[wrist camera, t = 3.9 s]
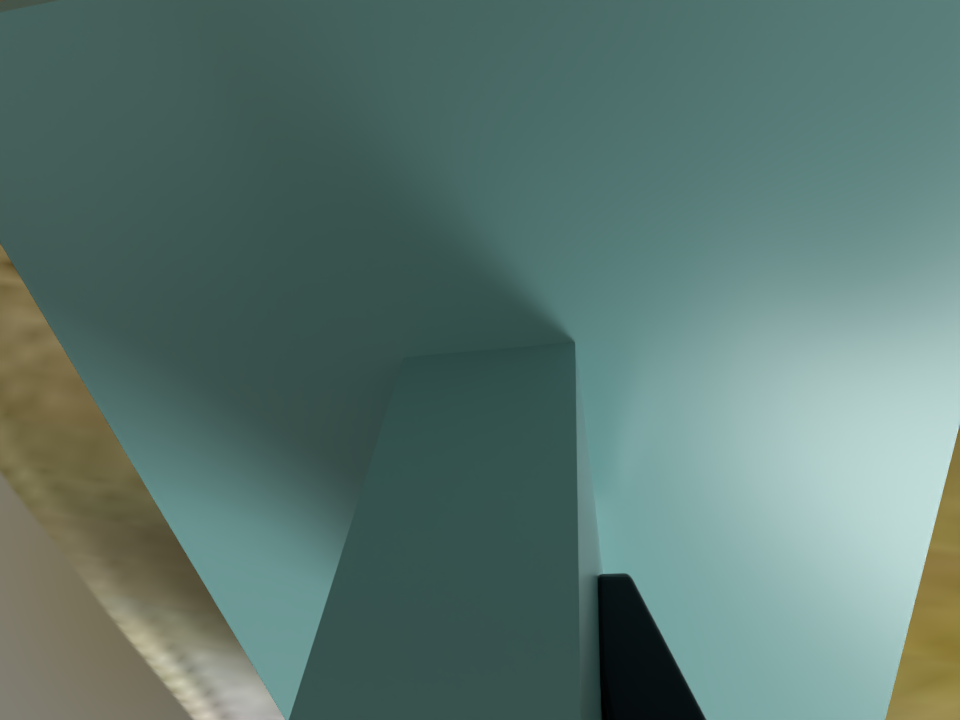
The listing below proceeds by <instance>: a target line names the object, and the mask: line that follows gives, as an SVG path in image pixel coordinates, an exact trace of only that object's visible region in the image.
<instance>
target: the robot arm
mask: <svg viewBox="0 0 960 720" xmlns="http://www.w3.org/2000/svg"><path fill="white" fill-rule="evenodd" d="M598 617H599V657H600V685H601V693H602V700H603V707H604V714H605V720H707V719H706V718H705V716H704V714H703V712H702V710H701V708H700V706H699V704H698V702H697V700H696V699H695V697H694V695H693V693H692V691H691V689H690V687H689V685H688V683H687V681H686V679H685V678H684V676H683V674H682V672H681V670H680V668H679V666H678V664H677V662H676V660H675V659H674V657H673V655H672V653H671V651H670V649H669V647H668V645H667V643H666V641H665V639H664V638H663V636H662V634H661V632H660V630H659V628H658V626H657V624H656V622H655V620H654V618H653V617H652V615H651V613H650V611H649V609H648V607H647V605H646V603H645V601H644V599H643V598H642V596H641V594H640V592H639V590H638V588H637V586H636V584H635V582H634V580H633V579H632V577H631V576H630V575H628V574H626V573H614V574H600V575H599V576H598Z"/></svg>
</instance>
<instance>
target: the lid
mask: <svg viewBox="0 0 960 720" xmlns="http://www.w3.org/2000/svg"><path fill="white" fill-rule="evenodd" d="M0 243H1V245H2V247H3V248H4V250H5V252H6V253H7V255H8V257H9V258H10V260H11V262H12V263H13V265H14V267H15V268H16V270H17V272H18V273H19V275H20V277H21V278H22V280H23V282H24V283H25V285H26V287H27V288H28V290H29V292H30V294H31V295H32V297H33V299H34V300H35V302H36V304H37V305H38V307H39V309H40V310H41V312H42V314H43V315H44V317H45V319H46V320H47V322H48V324H49V325H50V327H51V329H52V330H53V332H54V334H55V335H56V337H57V339H58V340H59V342H60V344H61V345H62V347H63V349H64V350H65V352H66V354H67V355H68V357H69V359H70V360H71V362H72V364H73V365H74V367H75V369H76V370H77V372H78V374H79V375H80V377H81V379H82V380H83V382H84V384H85V385H86V387H87V389H88V390H89V392H90V394H91V396H92V397H93V399H94V401H95V402H96V404H97V406H98V407H99V409H100V411H101V412H102V414H103V416H104V417H105V419H106V421H107V422H108V424H109V426H110V427H111V429H112V431H113V432H114V434H115V436H116V437H117V439H118V441H119V442H120V444H121V446H122V447H123V449H124V451H125V452H126V454H127V456H128V457H129V459H130V461H131V462H132V464H133V466H134V467H135V469H136V471H137V472H138V474H139V476H140V477H141V479H142V481H143V482H144V484H145V486H146V487H147V489H148V491H149V492H150V494H151V496H152V498H153V499H154V501H155V503H156V504H157V506H158V508H159V509H160V511H161V513H162V514H163V516H164V518H165V519H166V521H167V523H168V524H169V526H170V528H171V529H172V531H173V533H174V534H175V536H176V538H177V539H178V541H179V543H180V544H181V546H182V548H183V549H184V551H185V553H186V554H187V556H188V558H189V559H190V561H191V563H192V564H193V566H194V568H195V569H196V571H197V573H198V574H199V576H200V578H201V579H202V581H203V583H204V584H205V586H206V588H207V589H208V591H209V593H210V594H211V596H212V598H213V600H214V601H215V603H216V605H217V606H218V608H219V610H220V611H221V613H222V615H223V616H224V618H225V620H226V621H227V623H228V625H229V626H230V628H231V630H232V631H233V633H234V635H235V636H236V638H237V640H238V641H239V643H240V645H241V646H242V648H243V650H244V651H245V653H246V655H247V656H248V658H249V660H250V661H251V663H252V665H253V666H254V668H255V670H256V671H257V673H258V675H259V676H260V678H261V680H262V681H263V683H264V685H265V686H266V688H267V690H268V691H269V693H270V695H271V696H272V698H273V700H274V702H275V703H276V705H277V707H278V708H279V710H280V712H281V713H282V715H283V717H284V718H285V720H605V714H604V707H603V700H602V693H601V685H600V657H599V617H598V576H599V575H600V574H614V573H626V574H628V575H630V576H631V577H632V579H633V580H634V582H635V584H636V586H637V588H638V590H639V592H640V594H641V596H642V598H643V599H644V601H645V603H646V605H647V607H648V609H649V611H650V613H651V615H652V617H653V618H654V620H655V622H656V624H657V626H658V628H659V630H660V632H661V634H662V636H663V638H664V639H665V641H666V643H667V645H668V647H669V649H670V651H671V653H672V655H673V657H674V659H675V660H676V662H677V664H678V666H679V668H680V670H681V672H682V674H683V676H684V678H685V679H686V681H687V683H688V685H689V687H690V689H691V691H692V693H693V695H694V697H695V699H696V700H697V702H698V704H699V706H700V708H701V710H702V712H703V714H704V716H705V718H706V719H707V720H885V718H886V714H887V710H888V706H889V702H890V698H891V694H892V690H893V686H894V682H895V678H896V674H897V670H898V666H899V662H900V658H901V654H902V651H903V647H904V643H905V639H906V635H907V631H908V627H909V623H910V619H911V615H912V611H913V607H914V603H915V599H916V595H917V591H918V587H919V583H920V579H921V575H922V571H923V567H924V563H925V559H926V555H927V552H928V548H929V544H930V540H931V536H932V532H933V528H934V524H935V520H936V516H937V512H938V508H939V504H940V500H941V496H942V492H943V488H944V484H945V480H946V476H947V472H948V468H949V464H950V460H951V457H952V453H953V449H954V445H955V441H956V437H957V433H958V429H959V425H960V0H3V1H0Z"/></svg>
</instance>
